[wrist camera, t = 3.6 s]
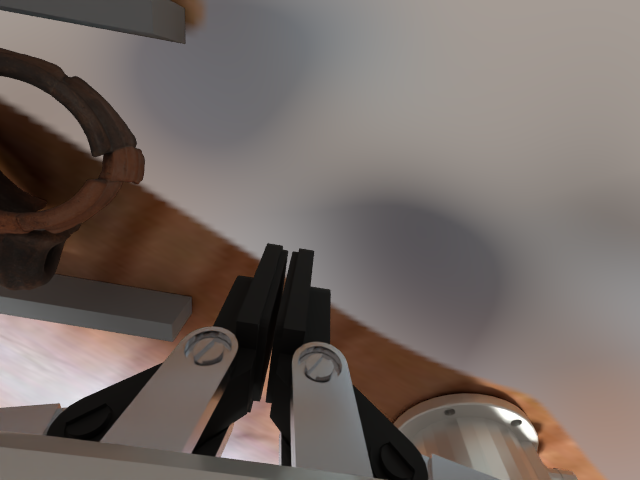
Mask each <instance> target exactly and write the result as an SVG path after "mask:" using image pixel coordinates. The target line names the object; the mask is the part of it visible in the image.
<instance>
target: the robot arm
mask: <svg viewBox="0 0 640 480" xmlns="http://www.w3.org/2000/svg"><path fill="white" fill-rule="evenodd" d="M287 256H288V251H287V250H283V246H280V245H275V244H269V243H268V244H267V246H266V248H265V251H264V253H263V256H262V258H261V261H260V263H259V266H258V268H257V270H256V273H255V275H254V278H252V277H245V276H238V277H237V278H236V280H235V282H234V284H233V286H232V288H231V290H230V292H229V294H228V297H227V299H226V301H225V303H224V305H223V307H222V309H221V311H220V313H219V315H218V317H217V319H216V321H215V323H214V325H213V326H212V327H203V328H200V329H197V330H195V331H193V332H191V333H189V334H188V335H187V336H186V337H184V338H183V339H182V340H181V342H180V343H179V344H178V345H177V347H176V348H175V349H174V350H173V351H172V353H171V354H170V355H169V356H168V358H167V359H166V360H165V361H164V362H163V363H161V364H159V365H156V366H154V367H152V368H150V369H147V370H145V371H143V372H141V373H138V374H136V375H134V376H132V377H129V378H127V379H125V380H123V381H121V382H118V383H116V384H114V385H112V386H109V387H107V388H105V389H103V390H100V391H98V392H96V393H94V394H91V395H89V396H87V397H85V398H83V399H81V400H79V401H77V402H75V403H74V404H72V405H70V406H69V407H68V408H61V406H60V403H58V404H45V405H32V406H19V407H6V408H0V480H577V477H576V475H575V474H574V473H573V472H572V471H569V470H564V469H558V468H553V469H552V468H547V467H546V466H545V465H544V464H543V463H542V461H541V459H540V457H539V455H538V454H537V449H538V445H539V441H538V434H537V432H536V430H535V428H534V426H533V425H532V423H531V421H530V420H529V418H528V417H527V415H526V414H525V413H524V412H523V411H522V410H521V409H519V408H518V407H517V406H515V405H513V404H511V403H510V402H508V401H506V400H503V399H500V398H496V397H493V396H488V395H482V394H469V393H461V394H451V395H445V396H440V397H436V398H432V399H429V400H427V401H424V402H421V403H419V404H417V405H415V406H414V407H412V408H410V409H408V410H407V411H406V412H405V413H403V414H402V415H401V416H400V417H399V418H398V419H397V420H396V421H395V422H394V424H392V423H391V422H390V421H389V420H388V419H387V418H386V417H385V416H384V415H383V414H382V413H381V412H380V411H379V410H378V409H377V408H376V407H375V406H374V405H373V404H372V403H371V402H370V401H369V400H368V399H367V398H366V397H365V396H364V395H363V394H362V393H361V392H360V391H359V390H358V389H357V388H356V387H355V386H354V385H353V384H352V381H351V377H350V373H349V368H348V364H347V361H346V359H345V357H344V355H343V354H342V353H341V352H340V351H339V350H338V349H337V348H335V347H334V346H332V345H330V296H331V294H330V290H329V289H323V288H316V287H310V285H311V275H312V266H313V257H314V251H312V250H306V249H299V252H292V257H291V261H290V265H289V270H288V274H287V278H286V282H285V286H284V279H285V272H286V263H287ZM283 287H284V291H283ZM282 294H283V295H282ZM271 351H272V355H271ZM270 356H271V363H270V371H269V379H268V387H267V395H266V402H267V403H272V405H271V412H270V418H271V419H272V421H273V422H274V423H275V425H276V426H277V427H278V429H279V430H280V435H279V465H274V464H266V463H259V462H251V461H243V460H236V459H228V458H220V457H221V455H222V452H223V450H224V448H225V446H226V444H227V441H228V439H229V437H230V435H231V432H232V429H233V426H234V422H235V421H237V420H238V419H240V418H241V417H243V416H244V415H246V414H247V412H251V408H252V404H253V401H260V399H261V395H262V391H263V386H264V382H265V378H266V373H267V369H268V364H269V360H270Z"/></svg>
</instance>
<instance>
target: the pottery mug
mask: <svg viewBox="0 0 640 480" xmlns="http://www.w3.org/2000/svg"><path fill="white" fill-rule="evenodd" d="M0 76H4V77H9V78H13V79H17V80H20V81H23V82H26V83H29V84H32V85H34V86H36V87H38V88H39V89H41V90H43V91H44V92H46V93H48V94H50V95H51V96H52V97H54V98H55V99H56V100H57V101H59V102H60V103H61V104H62V105H64V106H65V107H66V108H67V109H68V110H69V111H70V112H71V113H72V114H73V115H74V117H75V118H76V119H77V120H78V122H79V124H80V125H81V127H82V129H83V130H84V133H85V134H86V136H87V139H88V142H89V145H90V149H91V153H92V156H93V157H97V156H101V155H104V156H103V163H102V164H103V167H102V171H101V173H100V175H99V177H98V179H88V180H87V181H86V182H85V184H84V185H83V186H82V188H81V189H80V190H79V191H78V192H77V193H76V194H75V195H74V196H73V197H72V198H71V199H70V200H68V201H67V202H65V203H63V204H61V205H59V206H57V207H54V208H51V209H48V210H44V211H39V212H37V211H38V210H40V209H42V208H44V207H45V206H46V205H47V202H46V201H45V200H42V199H40V198H37V197H34V196H32V195H30V194H29V193H26V192H25V191H23V190H21V189H20V188H18V187H17V186H16V185H15V184H14V183H13V182H12V181H10V180H9V179H8V178H7V177H6V176H5V175H4V174H3V173H2V172H1V170H0V285H1V286H3V287H5V288H7V289H9V290H12V291H18V290H32V289H35V288H37V287H41V286H43V285H45V284H47V283H48V282H49V281H50V280H51V279H52V277H53V276H54V274H55V272H56V269H57V266H58V263H59V260H60V257H61V253H62V250H63V246H64V243H65V241H66V239H67V238H69V237H70V236H71V235H70V234H73V232H75V231H77V230H78V229H79V227H80V226H81V224H82V222H84V221H86V220H88V219H89V218H91V217H92V216H93V215H95V214H96V213H97V212H98V211H100V210H101V209H102V208H104V207H105V206H106V205H108V204H109V202H110V201H111V200H112V199H113V198H114V197H115V195H116V194H117V193H118V191H119V189H120V188H121V186H122V182H133V183H134V184H139V183H140V181H142V180H143V176H144V165H145V159H144V156H143V154H142V151H141V150H140V149H137V148H135V147H136V144H137V142H136V139H135V136H134V135H133V134H132V132H131V131H130V129H129V128H128V126H127V125H126V124H125V122H124V121H123V120H122V119H121V117H120V116H119V115H118V113H117V112H116V111H115V110H114V109H113V107H112V106H111V105H110V104H109V103H108V102H107V101H106V100H105V99H104V98H103V97H102V96H101V95H100V94H99V93H98V92H97V91H95V90H94V89H93V88H92V87H91V86H89V85H88V84H87V83H86V82H85V81H84V80H82V79H81V78H79V77H76V76H74V77H68V76H67V75H66V74H65V73H64V72H63V70H62V69H61V68H60V67H59V66H57V65H55V64H53V63H50V62H47V61H45V60H42V59H39V58H35V57H31V56H28V55H25V54H20V53H16V52H13V51H9V50H6V49H2V48H0Z"/></svg>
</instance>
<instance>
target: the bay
mask: <svg viewBox="0 0 640 480" xmlns="http://www.w3.org/2000/svg"><path fill="white" fill-rule="evenodd" d="M0 10H4V11H9V12H14V13H20V14H25V15H31V16H36V17H42V18H47V19H53V20H58V21H63V22H69V23H74V24H80V25H85V26H90V27H96V28H101V29H107V30H112V31H118V32H123V33H129V34H135V35H140V36H145V37H150V38H156V39H161V40H166V41H172V42H177V43H183V44H185V8H183V7H181V6H180V5H178V4H176V3H174V2H172V1H170V0H0ZM0 314H6V315H12V316H18V317H24V318H30V319H37V320H43V321H49V322H55V323H61V324H67V325H73V326H79V327H86V328H92V329H98V330H104V331H110V332H116V333H122V334H128V335H134V336H141V337H147V338H153V339H159V340H165V341H171V342H173V341H174V339H175V338H176V336H177V335H178V333H179V332H180V330H181V329H182V327H183V326H184V324H185V323H186V321H187V320H188V318H189V317H190V315H191V314H192V297H189V296H183V295H177V294H171V293H165V292H159V291H153V290H147V289H141V288H135V287H129V286H123V285H117V284H111V283H105V282H99V281H93V280H87V279H81V278H75V277H69V276H63V275H57V274H54V276H53V277H52V279H51V280H50V281H49V282H48V283H47V284H45V285H43V286H41V287H37V288H35V289H32V290H18V291H12V290H9V289H7V288H5V287H3V286H1V285H0Z"/></svg>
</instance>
